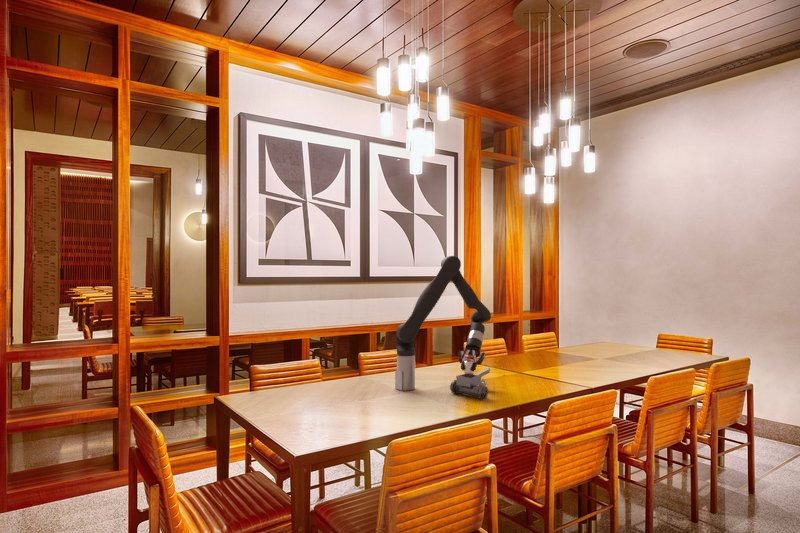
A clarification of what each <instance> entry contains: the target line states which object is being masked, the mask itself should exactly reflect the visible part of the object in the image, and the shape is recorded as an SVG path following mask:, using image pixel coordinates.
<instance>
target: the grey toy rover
mask: <svg viewBox="0 0 800 533" xmlns="http://www.w3.org/2000/svg"><path fill="white" fill-rule="evenodd" d="M481 379H482V377H481V376H479V375H474V374H473V377H471V378H468V377H464V373H463V374H458V375H456V378H455V379H453V380H451V383H450V386H449V387H450V388H449V389H450V392H451V393H453V394H461V395H462V394H463V395H466V396H470V397H475V398H478V399H479V400H481V401H484V400H483V399H485V400H486V399H487V397H488V394H489V389H488V387H487V386H486V385H485V386H479V385H481Z"/></svg>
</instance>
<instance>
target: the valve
mask: <svg viewBox="0 0 800 533" xmlns="http://www.w3.org/2000/svg"><path fill="white" fill-rule="evenodd" d="M463 355H464V356H463V358H464V357H466V358H467V360H466V361H464V372H463V374H464V377H468V378H471V377H473V375H474V372H473V371H472V365H473V363H474V360H472V359H471V358H473V355H465V354H463Z"/></svg>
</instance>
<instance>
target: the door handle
mask: <svg viewBox="0 0 800 533" xmlns="http://www.w3.org/2000/svg"><path fill="white" fill-rule="evenodd" d="M490 373H491V368H490V367H489V366H488V367H486V368H484V369H482V370H481V371H478V372H477V373H475V374H474V373H473V375H479V376H481V385H478V386H486V379H484V378H483V377H484V376H486V375H488V374H490Z"/></svg>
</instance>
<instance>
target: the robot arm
mask: <svg viewBox="0 0 800 533" xmlns="http://www.w3.org/2000/svg"><path fill="white" fill-rule="evenodd" d="M461 266H462V263H461V260H460V258H459V257H458V256H455V255H448V256H445V257H444V258H442V260H441V262H440V267H441V268H440V269H439V271H438V273H437V274H436V276H435V277H434V278H433V279H432V280H431V281H430V282H429V283H428V284H427V285H426V286H425V288H424V290H422V292H421V293H420V294H419V295H420V296H419V297H418V299H417V300H416V302H415V306H414V307H413V310H412V312H411V315H410V316H409V317H408V318H407V320H405V321H404V322H405V323H401V324H399V325H398V326H397V328H396V334H395V339H396V340H395V341H396V345H395V347H396V369H395V371H394V374H395V375H394V376H395V377H394V380H395V383H394V384H395V385H394V388H395V389H396V390H399V391H401V392H402V391H406V392H407V391H413V390H415V389H416V372H415V371H416V349H415V338H416V336H417V335H418V332H419V330H420V329H421V327H422V326H423V323H424V322H425V320H426V319H427V317H428V316H429V315H430V314H431V312H433V309H434V308H435V307H436V305H437V304H438V302H439V300H440V299H441V297H442V296H443V293H444V292H445V290H446V288H447V286H448V284H450V282H452V283H453V285H454V286H455V288H456V290H457V291H458V293H459V295H460V297H461V299H462V300H463V301H464V304H465V305H466V307H467V309H470V310H476V311H474V312H472V313H471V315H470V330H469V332H468V333H469V334H468V335H467V340H466V344H465V347H464V350H458V351H457V353H458V354H457V355H458V356H457V358H458V361H459V364H460V369H461V371H464V361H466V360H467V358H466V357H464V356H463V355H473V358H471V360H472V361H473V365H472V371H473V373H474V372H475V371H476V369H477V366H478V365H480V366H481V365H482V363H483V361H484V360H485V358H486V353H485V351H483V352H481V350H482V346H483V342H484V341H483V340H484V335H485V330H486V328H485V325H484V323H486V322H489V321H491V319H492V314H491V312H490V310H489V309H488V307H487V306H485V304H483V302H481V300H479V298H478V296H477V294H476V293H475V291H474V289H473V288H472V287H471V285H470V284H469V282H467V280H466V279H465V278H464V276H463V275H462V271H461ZM477 358H478V359H477Z"/></svg>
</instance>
